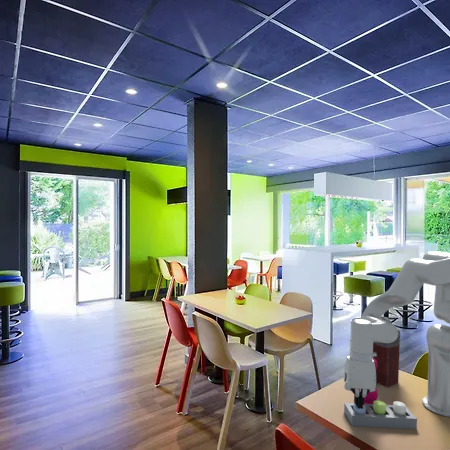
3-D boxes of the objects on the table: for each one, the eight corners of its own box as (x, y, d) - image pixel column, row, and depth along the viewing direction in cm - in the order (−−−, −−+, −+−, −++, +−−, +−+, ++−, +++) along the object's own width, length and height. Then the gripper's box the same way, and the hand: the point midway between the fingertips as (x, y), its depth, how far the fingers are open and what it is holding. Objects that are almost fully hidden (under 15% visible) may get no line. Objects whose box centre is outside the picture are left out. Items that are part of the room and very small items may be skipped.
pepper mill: (379, 411, 122) (381, 357, 122) (359, 408, 124) (361, 355, 124) (375, 400, 130) (376, 350, 129) (355, 398, 131) (357, 348, 131)
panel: (404, 415, 120) (404, 405, 120) (416, 428, 112) (417, 418, 112) (344, 412, 121) (344, 402, 121) (351, 425, 113) (352, 415, 113)
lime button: (382, 411, 119) (382, 400, 119) (387, 418, 115) (387, 407, 115) (371, 411, 119) (371, 400, 119) (375, 417, 115) (376, 406, 115)
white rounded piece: (402, 412, 118) (402, 401, 118) (407, 419, 114) (408, 407, 114) (390, 412, 119) (391, 401, 118) (396, 418, 115) (396, 407, 114)
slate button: (362, 414, 119) (363, 403, 119) (367, 421, 115) (367, 409, 115) (351, 413, 119) (351, 403, 119) (355, 420, 115) (355, 409, 115)
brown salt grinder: (401, 381, 147) (403, 318, 146) (387, 387, 140) (389, 322, 140) (382, 373, 154) (384, 313, 154) (368, 378, 148) (370, 317, 148)
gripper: (377, 352, 120) (375, 401, 120) (336, 350, 121) (334, 399, 121) (387, 360, 113) (384, 413, 113) (343, 358, 113) (341, 411, 113)
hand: (358, 406), depth 117 cm, fingers closed
